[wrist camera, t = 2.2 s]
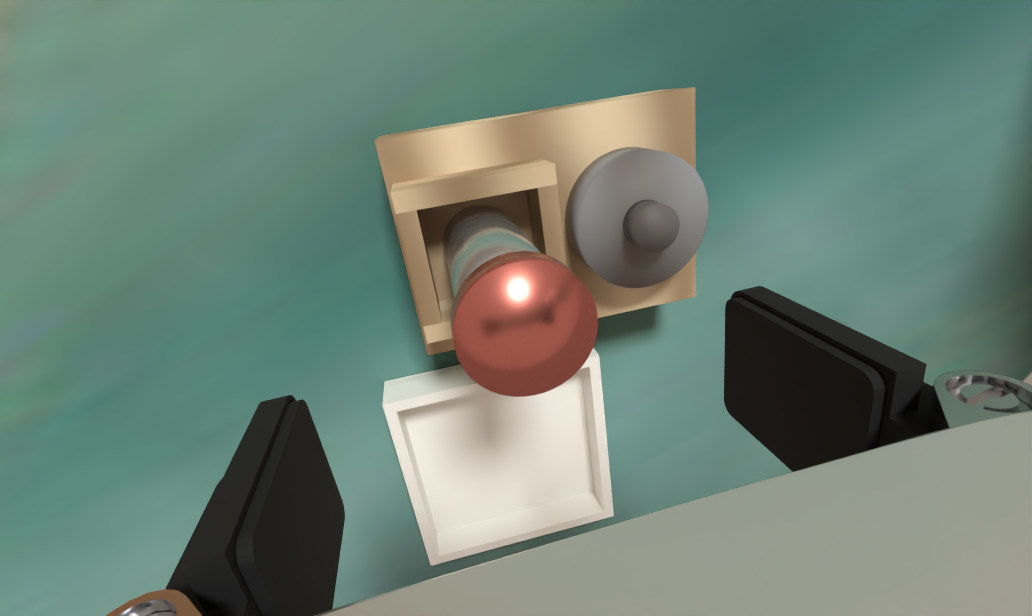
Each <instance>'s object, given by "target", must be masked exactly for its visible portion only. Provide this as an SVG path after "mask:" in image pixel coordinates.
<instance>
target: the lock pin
mask: <svg viewBox="0 0 1032 616" xmlns="http://www.w3.org/2000/svg"><path fill="white" fill-rule="evenodd" d="M443 250H444V254H445V259H446V263H447V267H448V272H449V276H450V280H451V285H452V289H453V293H454V298H455V299H454V302H453V305H452V310H451V331H452V337H453V343H454V348H455V352H456V355H457V358H458V360H459V362H460V364H461V366H462V367H463V369H464V370H465V372H466V373H467V374H468V375H469V376H470V378H471V379H472V380H474V381H475V382H476V383H477V384H479V385H480V386H482V387H483V388H485V389H487V390H489V391H491V392H494V393H497V394H500V395H505V396H512V397H526V396H533V395H538V394H541V393H545V392H547V391H550V390H552V389H554V388H556V387H558V386H560V385H562V384H563V383H565V382H566V381H567V380H569V379H570V378H571V377H572V376H573V375H575V374H576V373H577V372H578V370H579V369H580V368H581V367H582V366H583V365H584V363H585V362H586V360H587V359H588V357H589V355H590V353H591V351H592V349H593V347H594V344H595V341H596V337H597V331H598V314H597V308H596V305H595V302H594V299H593V297H592V295H591V293H590V291H589V290H588V289H587V287H586V286H585V284H584V283H583V282H582V281H581V280H580V279H579V278H578V277H577V276H576V275H575V274H574V273H573V272H572V271H571V270H570V269H569V268H568V267H567V266H566V265H564V264H563V263H562V262H560V261H559V260H557V259H555V258H553V257H551V256H548V255H546V254H542V253H540V251H539V250H538V249H537V248H536V247H535V246H534V245H533V244H532V243H531V241H530V240H529V239H528V238H527V237H526V236H525V235H524V234H523V233H522V232H521V230H520V229H519V228H518V227H517V226H516V225H515V224H514V223H513V222H512V220H511V219H510V218H509V217H508V216H507V215H506V214H505V213H504V212H502V211H501V210H499V209H497V208H495V207H492V206H488V205H473V206H470V207H467V208H464V209H463V210H461V211H459V212H458V213H457V214H455V215H454V216H453V217H452V219H451V220H450V221H449V223H448V224H447V226H446V228H445V231H444V235H443Z"/></svg>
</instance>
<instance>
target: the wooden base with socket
mask: <svg viewBox="0 0 1032 616" xmlns="http://www.w3.org/2000/svg"><path fill="white" fill-rule="evenodd" d="M375 144H376V148H377V152H378V157H379V161H380V165H381V169H382V173H383V177H384V181H385V185H386V189H387V193H388V197H389V201H390V205H391V209H392V213H393V217H394V221H395V225H396V230H397V234H398V238H399V242H400V246H401V250H402V254H403V258H404V262H405V266H406V270H407V274H408V278H409V282H410V286H411V290H412V294H413V299H414V303H415V307H416V311H417V315H418V319H419V323H420V327H421V331H422V335H423V339H424V343H425V347H426V351H427V355H428V356H429V355H433V354H438V353H442V352H447V351H451V350H455V348H454V343H453V337H452V331H451V310H452V305H453V302H454V299H455V298H454V293H453V289H452V285H451V280H450V276H449V272H448V267H447V263H446V259H445V254H444V250H443V235H444V231H445V228H446V226H447V224H448V223H449V221H450V220H451V219H452V217H453V216H454V215H455V214H457V213H458V212H459V211H461V210H463V209H464V208H467V207H470V206H473V205H488V206H492V207H495V208H497V209H499V210H501V211H502V212H504V213H505V214H506V215H507V216H508V217H509V218H510V219H511V220H512V222H513V223H514V224H515V225H516V226H517V227H518V228H519V229H520V230H521V232H522V233H523V234H524V235H525V236H526V237H527V238H528V239H529V240H530V241H531V243H532V244H533V245H534V246H535V247H536V248H537V249H538V250H539V251H540V253H542V254H546V255H548V256H551V257H553V258H555V259H557V260H559V261H560V262H562V263H563V264H564V265H566V266H567V267H568V268H569V269H570V270H571V271H572V272H573V273H574V274H575V275H576V276H577V277H578V278H579V279H580V280H581V281H582V282H583V283H584V284H585V286H586V287H587V289H588V290H589V291H590V293H591V295H592V297H593V299H594V302H595V305H596V308H597V314H598V318H601V317H605V316H610V315H614V314H619V313H623V312H628V311H632V310H637V309H641V308H646V307H650V306H655V305H659V304H664V303H668V302H673V301H678V300H682V299H687V298H691V297H696V251H697V249H698V248H699V246H700V244H701V242H702V239H703V237H704V234H705V231H706V227H707V222H708V213H709V207H708V198H707V193H706V189H705V186H704V184H703V182H702V180H701V178H700V176H699V175H698V173H697V172H696V170H695V87H693V88H680V89H667V90H654V91H648V92H642V93H636V94H630V95H624V96H618V97H612V98H606V99H600V100H594V101H588V102H582V103H576V104H570V105H564V106H558V107H552V108H546V109H540V110H533V111H527V112H521V113H515V114H509V115H503V116H497V117H491V118H485V119H479V120H473V121H467V122H461V123H455V124H449V125H443V126H437V127H431V128H425V129H418V130H412V131H406V132H400V133H394V134H388V135H382V136H379V137H378V138H377V139H376V140H375Z"/></svg>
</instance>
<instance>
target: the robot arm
mask: <svg viewBox="0 0 1032 616" xmlns="http://www.w3.org/2000/svg"><path fill="white" fill-rule="evenodd" d="M925 369H926V364H925V363H923V362H921V361H919V360H917V359H915V358H913V357H910V356H908V355H906V354H904V353H902V352H900V351H898V350H896V349H893V348H891V347H889V346H887V345H885V344H883V343H881V342H879V341H877V340H874V339H872V338H870V337H868V336H866V335H864V334H862V333H860V332H858V331H855V330H853V329H851V328H849V327H847V326H845V325H843V324H841V323H838V322H836V321H834V320H832V319H830V318H828V317H826V316H824V315H822V314H819V313H817V312H815V311H813V310H811V309H809V308H807V307H805V306H803V305H800V304H798V303H796V302H794V301H792V300H790V299H788V298H786V297H783V296H781V295H779V294H777V293H775V292H773V291H771V290H769V289H767V288H764V287H761V286H758V287H753V288H749V289H745V290H740V291H736V292H734V293H733V295H732V297H731V299H729V300H728V301H727V303H726V307H725V369H724V403H725V406H726V409H727V411H728V412H729V414H730V415H731V416H732V417H733V418H734V419H735V420H736V421H738V422H739V423H740V424H741V425H742V426H743V427H744V428H745V429H746V430H747V431H749V432H750V433H751V434H752V435H753V436H754V437H755V438H756V439H757V440H758V441H760V442H761V443H762V444H763V445H764V446H765V447H766V448H767V449H768V450H769V451H771V452H772V453H773V454H774V455H775V456H776V457H777V458H778V459H779V460H780V461H782V462H783V463H784V464H785V465H786V466H787V467H788V468H789V469H790V470H791V471H793V472H791V473H788V474H784V475H781V476H777V477H774V478H770V479H767V480H764V481H760V482H757V483H753V484H750V485H746V486H743V487H739V488H736V489H733V490H729V491H726V492H722V493H719V494H715V495H712V496H709V497H705V498H702V499H698V500H695V501H692V502H688V503H685V504H681V505H678V506H674V507H671V508H668V509H664V510H661V511H658V512H654V513H651V514H647V515H644V516H641V517H637V518H634V519H631V520H627V521H624V522H620V523H617V524H614V525H610V526H607V527H604V528H600V529H597V530H593V531H590V532H587V533H583V534H580V535H576V536H573V537H570V538H566V539H563V540H559V541H556V542H553V543H549V544H546V545H542V546H539V547H536V548H532V549H529V550H526V551H522V552H519V553H516V554H512V555H509V556H506V557H502V558H499V559H496V560H492V561H489V562H486V563H482V564H479V565H476V566H472V567H469V568H466V569H462V570H459V571H456V572H452V573H449V574H446V575H442V576H439V577H436V578H432V579H429V580H425V581H422V582H419V583H415V584H412V585H409V586H405V587H402V588H399V589H395V590H392V591H389V592H385V593H382V594H379V595H375V596H372V597H369V598H365V599H362V600H359V601H356V602H353V603H350V604H347V605H344V606H341V607H338V608H335V609H332V607H333V599H334V592H335V585H336V578H337V571H338V563H339V556H340V549H341V542H342V535H343V527H344V519H345V512H344V506H343V502H342V499H341V496H340V493H339V490H338V488H337V485H336V482H335V479H334V477H333V474H332V471H331V469H330V466H329V463H328V460H327V458H326V455H325V452H324V450H323V447H322V444H321V441H320V439H319V436H318V433H317V431H316V428H315V425H314V422H313V420H312V417H311V414H310V412H309V409H308V406H307V404H306V402H305V401H304V400H299V401H296V400H295V398H294V397H293V396H292V395H289V396H285V397H280V398H276V399H272V400H267V401H263V402H261V403H260V404H259V405H258V407H257V409H256V411H255V414H254V416H253V418H252V420H251V422H250V424H249V426H248V428H247V430H246V432H245V434H244V436H243V438H242V440H241V442H240V444H239V446H238V448H237V450H236V452H235V454H234V456H233V458H232V460H231V462H230V464H229V467H228V469H227V471H226V473H225V475H224V477H223V479H221V480H220V482H219V483H218V485H217V486H216V488H215V490H214V492H213V494H212V496H211V498H210V500H209V502H208V504H207V506H206V508H205V510H204V512H203V514H202V516H201V518H200V520H199V522H198V524H197V526H196V528H195V530H194V533H193V535H192V537H191V539H190V541H189V543H188V545H187V547H186V549H185V551H184V553H183V555H182V557H181V559H180V561H179V563H178V565H177V567H176V569H175V571H174V573H173V575H172V577H171V579H170V581H169V583H168V585H167V587H166V589H163V590H158V591H153V592H149V593H146V594H144V595H141V596H139V597H137V598H134V599H132V600H130V601H128V602H126V603H125V604H123V605H121V606H120V607H118V608H116V609H115V610H113V611H111V612H110V613H109V614H107V615H106V616H1032V386H1031V385H1030V384H1027V383H1025V382H1022V381H1020V380H1017V379H1014V378H1011V377H1007V376H1003V375H1000V374H996V373H989V372H982V371H967V370H961V371H952V372H947V373H945V374H942V375H939V376H938V377H937V378H936V379H935V380H934V385H933V386H931V385H929V384H927V383H925V382H923V380H924V374H925Z"/></svg>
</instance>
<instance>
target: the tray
mask: <svg viewBox="0 0 1032 616" xmlns="http://www.w3.org/2000/svg"><path fill="white" fill-rule="evenodd" d="M383 408H384V412H385V415H386V418H387V422H388V425H389V428H390V432H391V435H392V438H393V442H394V445H395V448H396V452H397V455H398V458H399V462H400V465H401V468H402V472H403V475H404V478H405V482H406V485H407V488H408V492H409V495H410V498H411V502H412V505H413V508H414V512H415V515H416V518H417V522H418V525H419V528H420V532H421V535H422V538H423V542H424V545H425V548H426V552H427V555H428V558H429V562H430V565H431V566H432V565H436V564H440V563H443V562H447V561H451V560H454V559H458V558H462V557H465V556H469V555H473V554H476V553H480V552H484V551H487V550H491V549H495V548H498V547H502V546H506V545H509V544H513V543H517V542H520V541H524V540H528V539H531V538H535V537H539V536H542V535H546V534H550V533H553V532H557V531H561V530H564V529H568V528H572V527H575V526H579V525H583V524H586V523H590V522H594V521H597V520H601V519H605V518H608V517H612V516H614V513H613V502H612V491H611V480H610V469H609V459H608V448H607V437H606V426H605V415H604V404H603V394H602V383H601V372H600V361H599V355H598V353H597V352H596V351H595V349H594V348H593V349H592V351H591V353H590V355H589V357H588V359H587V360H586V362H585V363H584V365H583V366H582V367H581V368H580V369H579V370H578V372H577V373H576V374H575V375H573V376H572V377H571V378H570V379H569V380H567V381H566V382H565V383H563V384H562V385H560V386H558V387H556V388H554V389H552V390H550V391H547V392H545V393H541V394H538V395H533V396H526V397H512V396H505V395H500V394H497V393H494V392H491V391H489V390H487V389H485V388H483V387H482V386H480V385H479V384H477V383H476V382H475V381H474V380H472V379H471V378H470V376H469V375H468V374H467V373H466V372H465V370H464V369H463V367H462V366H461V364H460V365H456V366H451V367H447V368H442V369H438V370H433V371H429V372H425V373H420V374H416V375H411V376H407V377H402V378H398V379H393V380H389V381H385V384H384V394H383Z"/></svg>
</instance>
